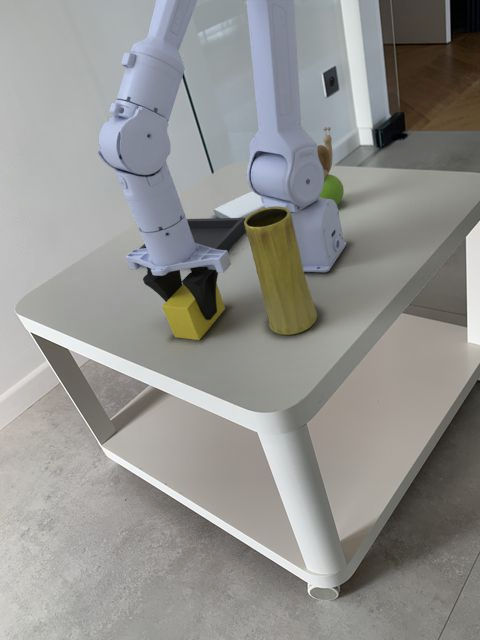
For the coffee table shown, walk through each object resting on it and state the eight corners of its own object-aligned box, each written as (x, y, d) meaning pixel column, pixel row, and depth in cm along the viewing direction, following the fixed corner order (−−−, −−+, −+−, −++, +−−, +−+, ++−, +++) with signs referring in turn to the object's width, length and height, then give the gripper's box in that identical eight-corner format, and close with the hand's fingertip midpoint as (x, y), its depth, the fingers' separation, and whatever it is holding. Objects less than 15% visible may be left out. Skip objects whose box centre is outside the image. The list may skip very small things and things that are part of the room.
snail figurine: (353, 197, 94) (342, 125, 86) (337, 214, 90) (324, 141, 83) (325, 196, 97) (312, 127, 89) (308, 213, 93) (293, 142, 86)
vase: (314, 334, 66) (289, 225, 57) (265, 337, 68) (234, 233, 59) (320, 304, 70) (297, 200, 62) (274, 309, 72) (246, 208, 64)
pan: (248, 228, 94) (245, 217, 93) (212, 267, 86) (208, 256, 85) (176, 228, 102) (172, 218, 100) (136, 265, 93) (131, 254, 92)
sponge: (225, 308, 75) (214, 277, 72) (199, 340, 71) (187, 308, 68) (201, 306, 77) (190, 276, 74) (174, 337, 73) (161, 306, 70)
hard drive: (215, 216, 102) (270, 189, 105) (236, 227, 96) (294, 198, 99) (212, 208, 101) (269, 181, 104) (233, 219, 95) (292, 190, 98)
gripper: (95, 237, 66) (138, 328, 74) (194, 237, 59) (228, 337, 67) (130, 210, 71) (166, 298, 79) (225, 207, 64) (254, 304, 72)
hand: (197, 314), depth 73 cm, fingers closed on sponge, 4 cm apart
